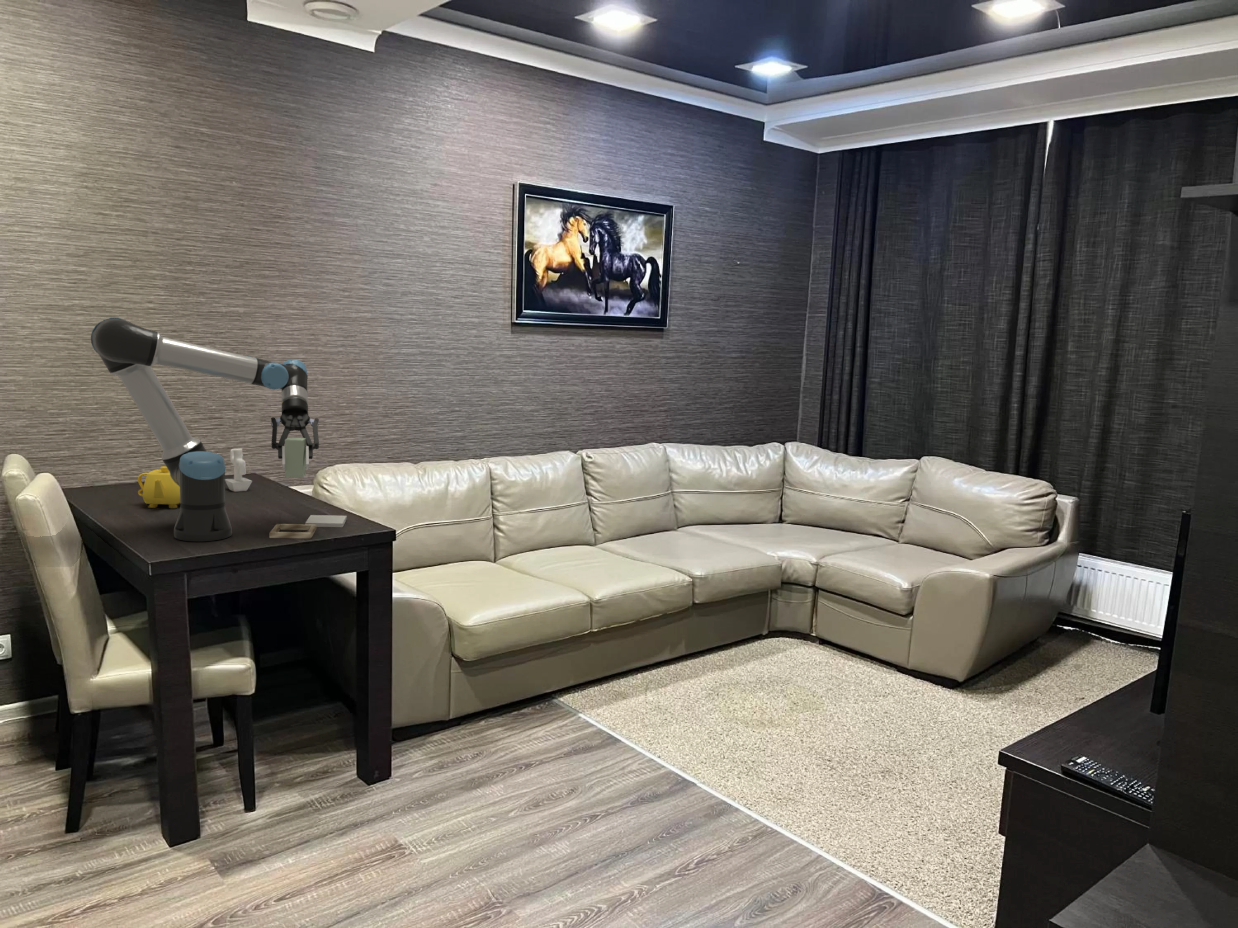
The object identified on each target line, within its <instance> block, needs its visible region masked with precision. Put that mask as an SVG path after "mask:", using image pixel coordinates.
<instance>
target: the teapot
mask: <svg viewBox="0 0 1238 928" xmlns="http://www.w3.org/2000/svg"><path fill="white" fill-rule="evenodd" d="M144 476H146V477H145V478H144V479H145V480H144V482H143V480H142V477H144ZM137 482H138V485H139V486H140V489H138V491H137V493H138V496H140V497H142V499H143V502H144V503H145V504H146V505H147V504H148V506H147V508H149V509H156V508H157V507H158V505H168V508H169V509H178V505H180V486H179V485H177V484H176V483H175V482H174V481H173V479H172V478H171V476H170V472H169V470H168V468H167V467H166V465H165V466H163V465H162V466H160V467H159V469H153V470H150V471H149V472H143V473H140V474H139V475H138V477H137ZM143 483H144V484H143Z"/></svg>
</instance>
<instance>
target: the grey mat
mask: <svg viewBox="0 0 1238 928" xmlns="http://www.w3.org/2000/svg"><path fill="white" fill-rule="evenodd" d="M347 517H348V516H347V515H333V514H332V515H329V514H328V515H325V514H324V515H322V514H321V515H319V514H317V515H316V514H310V516H309V517H308V519H306V521H305V522H304V523H305V524H312V525H316V528H343V527H344V525H345V523H346V521H347Z"/></svg>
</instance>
